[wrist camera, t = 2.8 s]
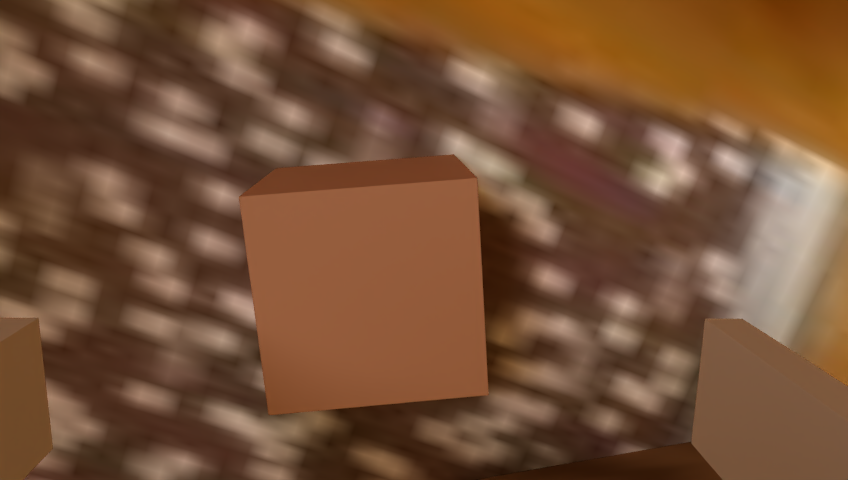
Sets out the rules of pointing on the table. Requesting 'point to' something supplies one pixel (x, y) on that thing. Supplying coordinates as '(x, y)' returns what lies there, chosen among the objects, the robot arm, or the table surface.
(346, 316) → the block
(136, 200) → the table surface
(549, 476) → the tower base
